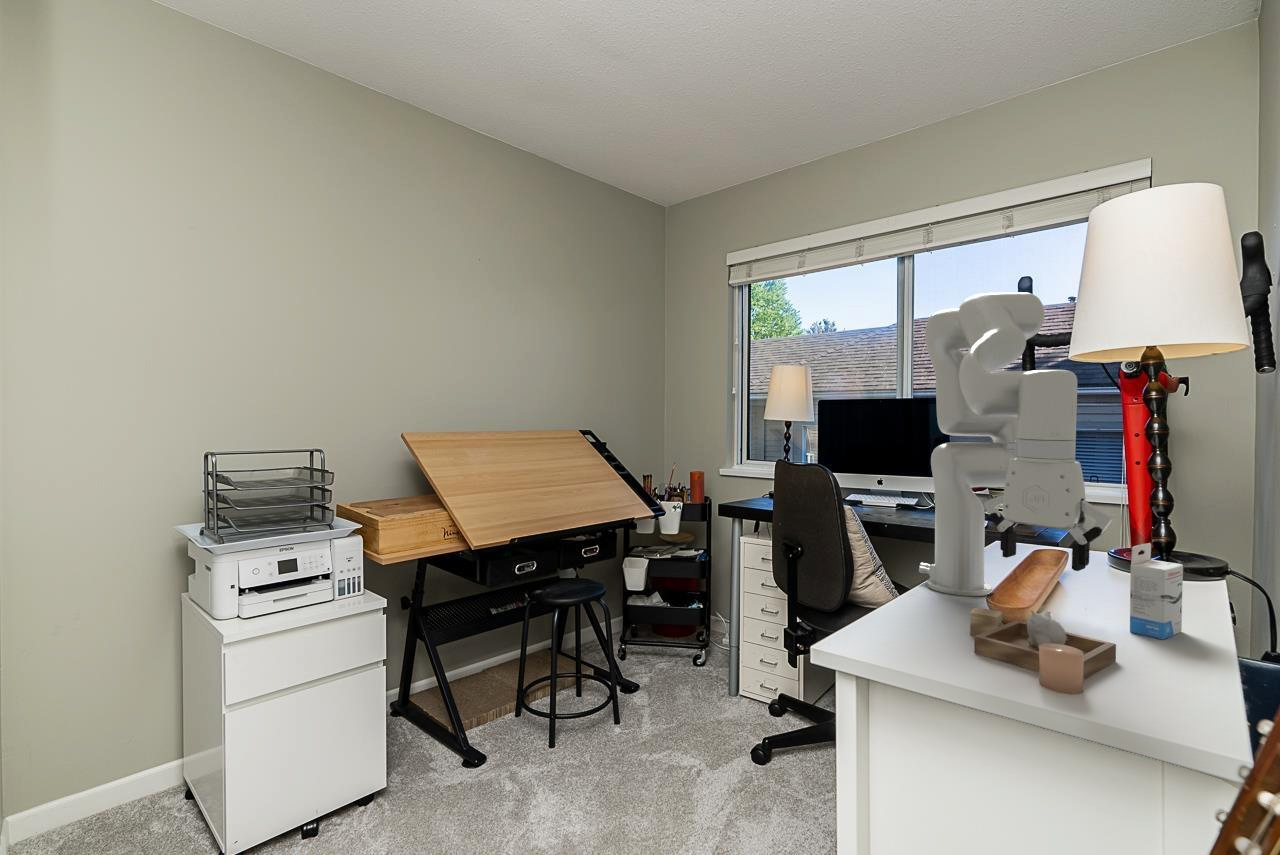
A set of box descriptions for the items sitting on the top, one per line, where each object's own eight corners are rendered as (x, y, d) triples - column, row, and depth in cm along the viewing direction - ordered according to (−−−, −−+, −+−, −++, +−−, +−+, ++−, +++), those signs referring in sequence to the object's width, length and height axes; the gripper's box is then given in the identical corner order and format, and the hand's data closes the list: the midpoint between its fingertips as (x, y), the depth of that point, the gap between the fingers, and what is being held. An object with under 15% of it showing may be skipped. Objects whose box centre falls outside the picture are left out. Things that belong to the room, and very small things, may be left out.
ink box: (1164, 640, 104) (1165, 551, 104) (1128, 632, 108) (1129, 546, 108) (1183, 631, 109) (1184, 546, 109) (1148, 624, 113) (1148, 541, 113)
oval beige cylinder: (1032, 684, 86) (1032, 648, 86) (1048, 676, 89) (1048, 640, 89) (1074, 697, 82) (1074, 659, 82) (1089, 688, 85) (1089, 651, 85)
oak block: (970, 636, 106) (970, 612, 106) (975, 630, 109) (975, 607, 109) (997, 641, 103) (997, 617, 103) (1001, 635, 106) (1001, 611, 106)
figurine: (1071, 668, 93) (1048, 638, 91) (1028, 667, 98) (1005, 638, 95) (1072, 621, 98) (1050, 591, 96) (1031, 621, 102) (1009, 593, 100)
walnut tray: (974, 652, 98) (974, 636, 98) (1016, 635, 106) (1016, 620, 106) (1078, 683, 86) (1078, 664, 86) (1115, 661, 95) (1115, 643, 95)
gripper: (975, 449, 101) (973, 555, 102) (1103, 456, 87) (1099, 579, 88) (997, 446, 105) (995, 548, 106) (1122, 453, 91) (1119, 571, 92)
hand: (1042, 562), depth 97 cm, fingers open, 9 cm apart
